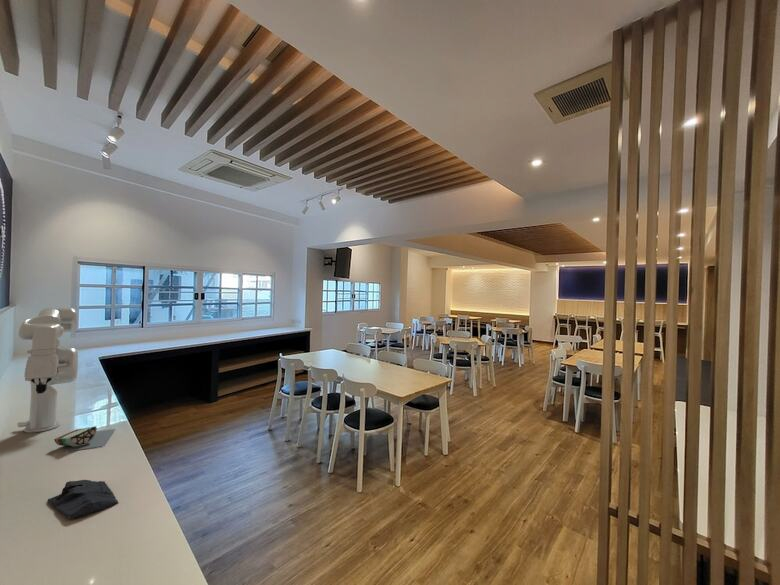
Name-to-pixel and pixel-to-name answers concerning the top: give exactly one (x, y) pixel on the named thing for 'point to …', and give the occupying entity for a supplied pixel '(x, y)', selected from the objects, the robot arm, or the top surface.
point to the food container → (77, 437)
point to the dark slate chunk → (83, 498)
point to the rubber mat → (95, 440)
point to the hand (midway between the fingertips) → (41, 392)
